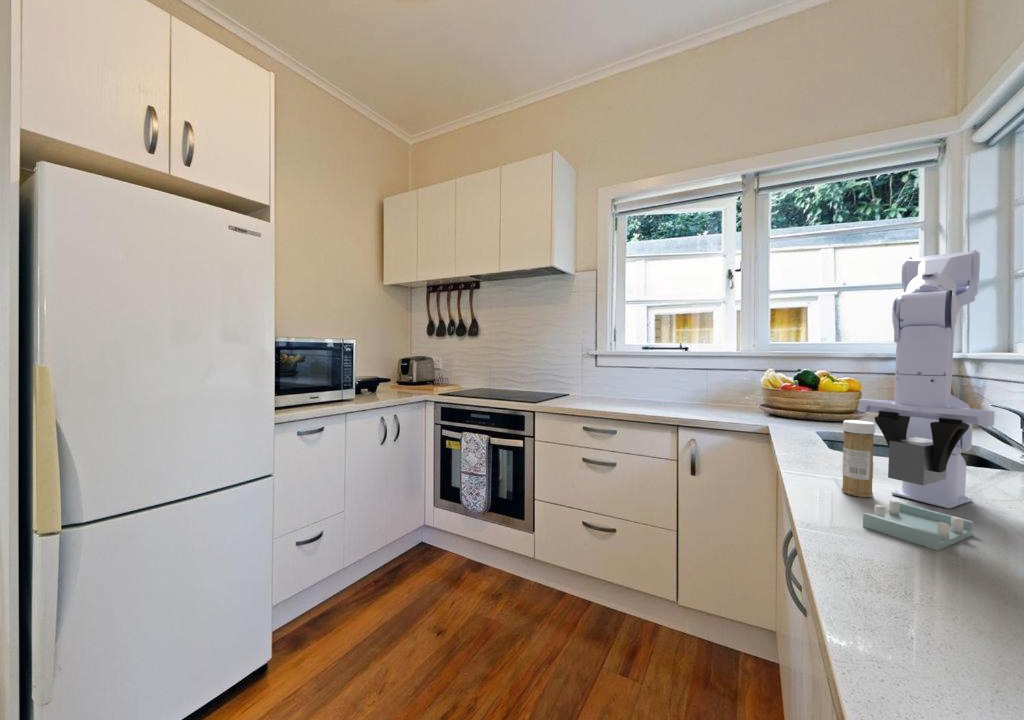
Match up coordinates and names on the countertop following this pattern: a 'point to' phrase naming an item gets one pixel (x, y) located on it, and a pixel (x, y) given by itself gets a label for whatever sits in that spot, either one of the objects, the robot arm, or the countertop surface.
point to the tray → (918, 525)
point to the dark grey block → (913, 461)
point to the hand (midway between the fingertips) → (917, 467)
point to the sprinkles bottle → (858, 457)
